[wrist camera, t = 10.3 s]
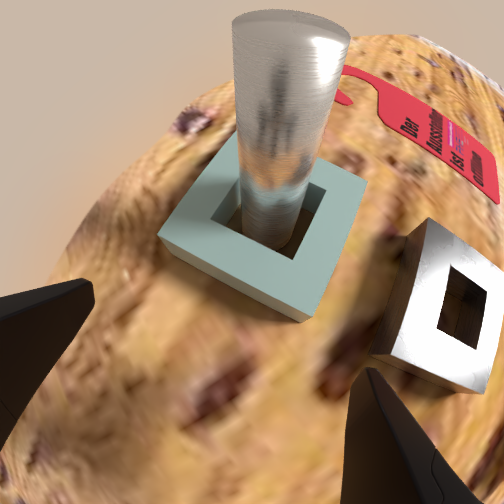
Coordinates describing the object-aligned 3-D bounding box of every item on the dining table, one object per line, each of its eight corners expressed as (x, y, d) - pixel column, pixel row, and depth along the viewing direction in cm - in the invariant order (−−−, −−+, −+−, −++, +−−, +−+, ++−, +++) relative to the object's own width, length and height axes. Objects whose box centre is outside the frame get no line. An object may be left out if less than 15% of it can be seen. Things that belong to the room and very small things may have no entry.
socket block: (457, 392, 13) (483, 394, 10) (367, 354, 14) (390, 354, 12) (483, 286, 16) (506, 275, 13) (407, 235, 17) (428, 217, 14)
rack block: (300, 323, 15) (312, 316, 12) (171, 253, 17) (157, 234, 14) (352, 205, 18) (367, 181, 15) (241, 154, 19) (239, 126, 17)
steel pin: (265, 261, 17) (295, 57, 4) (232, 225, 17) (208, 22, 5) (302, 230, 17) (371, 39, 5) (269, 197, 18) (289, 5, 6)
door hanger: (500, 207, 19) (298, 85, 23) (497, 209, 19) (297, 89, 23) (494, 155, 22) (327, 56, 26) (492, 157, 22) (326, 59, 26)
